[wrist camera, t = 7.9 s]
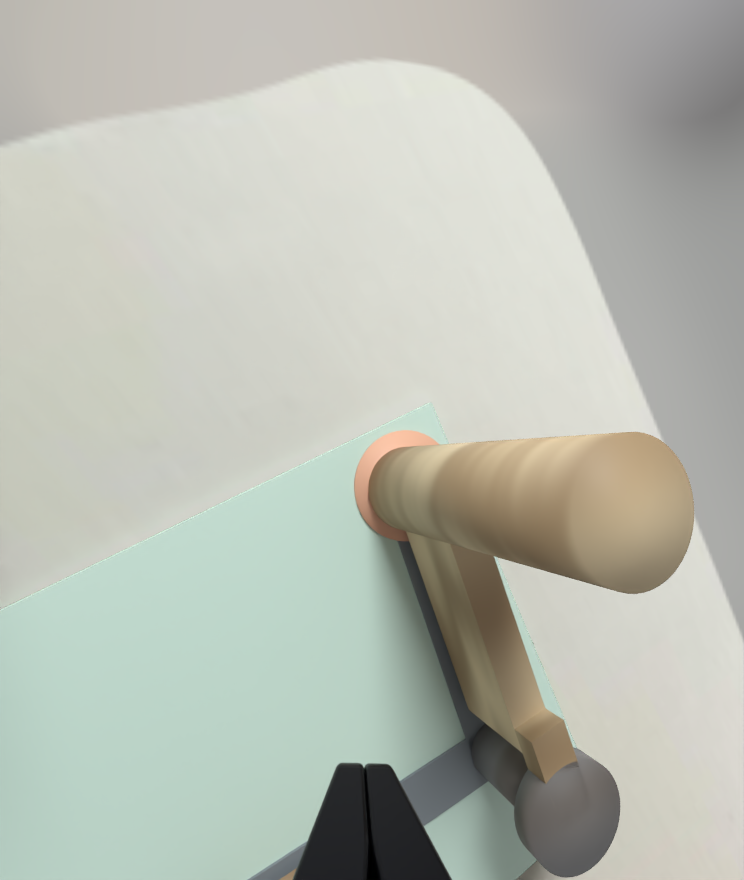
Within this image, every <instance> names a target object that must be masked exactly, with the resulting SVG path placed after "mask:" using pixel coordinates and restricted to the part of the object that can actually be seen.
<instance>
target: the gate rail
mask: <svg viewBox="0 0 744 880" xmlns="http://www.w3.org/2000/svg"><path fill="white" fill-rule="evenodd" d="M368 491H369V499H370V502H371V505H372V508H373V510H374V511H375V513H376V514H377V516H378V517H379V518H380V519H381V520H382V521H383V522H384V523H386V524H387V525H389V526H391V527H394V528H396V529H400V530H403V531H406V533H407V536H408V539H409V542H410V545H411V547H412V550H413V553H414V556H415V559H416V562H417V564H418V567H419V570H420V573H421V576H422V578H423V581H424V584H425V587H426V590H427V593H428V595H429V598H430V601H431V604H432V607H433V610H434V612H435V615H436V618H437V621H438V624H439V627H440V629H441V632H442V635H443V638H444V641H445V644H446V646H447V649H448V652H449V655H450V658H451V661H452V663H453V666H454V669H455V672H456V675H457V678H458V680H459V683H460V686H461V689H462V692H463V695H464V697H465V700H466V703H467V706H468V709H469V710H470V711H471V712H472V713H473V714H475V715H476V716H477V717H478V718H480V719H481V720H482V721H483V722H485V723H486V724H487V725H488V726H489V727H491V728H492V729H493V730H494V731H496V732H497V733H498V734H499V735H501V736H502V737H503V738H504V739H505V740H507V741H508V742H509V743H510V744H512V745H513V746H514V747H515V748H517V749H518V750H519V751H520V752H521V753H523V756H524V759H525V762H526V765H527V767H528V770H527V771H526V773H525V775H524V776H523V778H522V781H521V783H520V785H519V788H518V791H517V794H516V799H515V805H514V821H515V827H516V831H517V834H518V836H519V839H520V840H521V842H522V844H523V845H524V846H525V847H526V849H527V850H528V851H529V852H530V853H531V854H532V855H533V856H534V857H535V858H536V859H537V860H538V861H539V862H540V864H541V865H542V866H543V867H544V868H545V869H546V870H548V871H549V872H550V873H552V874H554V875H557V876H560V877H574V876H578V875H580V874H583V873H585V872H586V871H588V870H590V869H591V868H592V867H593V866H595V865H596V864H597V863H598V862H599V861H600V860H601V858H602V857H603V856H604V855H605V853H606V852H607V850H608V848H609V847H610V845H611V843H612V841H613V838H614V836H615V833H616V830H617V827H618V822H619V816H620V797H619V792H618V788H617V785H616V782H615V780H614V778H613V776H612V775H611V773H610V772H609V771H608V770H607V769H606V768H605V767H604V766H603V765H601V764H600V763H598V762H597V761H595V760H594V759H592V758H591V757H590V756H588V755H587V754H585V753H584V752H582V751H581V750H579V749H577V748H574V747H573V746H572V743H571V740H570V737H569V734H568V731H567V728H566V725H565V722H564V720H563V719H561V718H560V717H558V716H557V715H555V714H554V713H552V712H551V711H549V710H548V709H546V708H545V706H544V703H543V700H542V697H541V694H540V691H539V688H538V685H537V682H536V679H535V676H534V673H533V670H532V667H531V664H530V661H529V658H528V655H527V652H526V650H525V647H524V644H523V641H522V638H521V635H520V632H519V629H518V626H517V623H516V620H515V617H514V614H513V611H512V608H511V605H510V602H509V599H508V596H507V594H506V591H505V588H504V585H503V582H502V579H501V576H500V573H499V570H498V567H497V564H496V561H495V558H494V556H495V557H498V558H502V559H505V560H509V561H512V562H516V563H519V564H523V565H526V566H530V567H534V568H537V569H541V570H544V571H548V572H551V573H555V574H558V575H562V576H565V577H569V578H572V579H576V580H579V581H583V582H586V583H590V584H593V585H597V586H600V587H604V588H607V589H611V590H614V591H618V592H622V593H627V594H638V593H644V592H647V591H650V590H652V589H654V588H656V587H658V586H660V585H661V584H662V583H664V582H665V581H666V580H667V579H668V578H669V577H670V576H671V575H672V574H673V573H674V572H675V571H676V569H677V568H678V567H679V565H680V563H681V562H682V560H683V558H684V556H685V554H686V552H687V549H688V546H689V543H690V540H691V535H692V531H693V523H694V501H693V495H692V489H691V486H690V482H689V479H688V476H687V473H686V471H685V469H684V467H683V465H682V463H681V462H680V460H679V459H678V457H677V456H676V455H675V453H674V452H673V451H672V450H671V449H670V448H669V447H668V446H667V445H666V444H665V443H663V442H662V441H661V440H659V439H657V438H655V437H653V436H651V435H648V434H645V433H640V432H624V433H609V434H593V435H578V436H563V437H548V438H532V439H517V440H502V441H487V442H472V443H456V444H441V445H426V446H411V447H400V448H396V449H393V450H391V451H389V452H388V453H386V454H385V455H383V456H382V457H381V458H380V459H379V461H378V462H377V463H376V465H375V466H374V468H373V470H372V472H371V475H370V479H369V486H368Z"/></svg>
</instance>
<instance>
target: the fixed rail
mask: <svg viewBox="0 0 744 880" xmlns="http://www.w3.org/2000/svg"><path fill="white" fill-rule="evenodd" d="M472 760H473V764H474V766H475V768H476V769H477V770H478V771H479V772H480V773H481V774H482V775H483V776H484V777H485V778H486V779H487V780H488V781H489V782H490V783H491V784H492V785H493V786H494V787H495V788H496V789H497V790H498V791H499V792H500V793H501V794H502V795H503V796H504V797H505V798H506V799H507V800H508V801H509V802H510V803H511V804H512V805H513V806H514V805H515V799H516V794H517V791H518V788H519V785H520V783H521V781H522V778H523V776H524V775H525V773H526V771H527V770H528V767H527V765H526V762H525V759H524V756H523V753H521V752H520V751H519V750H518V749H517V748H515V747H514V746H513V745H512V744H510V743H509V742H508V741H507V740H505V739H504V738H503V737H502V736H501V735H499V734H498V733H497V732H496V731H494V730H493V729H492V728H491V727H489V726H488V725H487V724H484V725H483V726H482V727H481V728H480V730H479V731H478V732H477V734H476V736H475V738H474V741H473V744H472ZM296 869H297V868H296ZM296 869H294V870H293V871H291V872H290V873H288V874H287V875H285V876H284V877H282V878H281V879H279V880H292V879H293V877H294V874H295V872H296Z"/></svg>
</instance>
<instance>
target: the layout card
mask: <svg viewBox="0 0 744 880" xmlns="http://www.w3.org/2000/svg"><path fill="white" fill-rule="evenodd" d="M441 444H449V443H448V440H447V438H446V436H445V433H444V431H443V428H442V426H441V424H440V421H439V419H438V417H437V414H436V412H435V409H434V407H433V405H432V403H427V404H425V405H423V406H421V407H419V408H417V409H415V410H413V411H411V412H409V413H407V414H405V415H403V416H401V417H398V418H396V419H394V420H392V421H390V422H388V423H386V424H384V425H382V426H380V427H378V428H376V429H374V430H372V431H369V432H367V433H365V434H363V435H361V436H359V437H357V438H355V439H353V440H351V441H349V442H347V443H345V444H343V445H340V446H338V447H336V448H334V449H332V450H330V451H328V452H326V453H324V454H322V455H320V456H318V457H316V458H313V459H311V460H309V461H307V462H305V463H303V464H301V465H299V466H297V467H295V468H293V469H291V470H289V471H287V472H284V473H282V474H280V475H278V476H276V477H274V478H272V479H270V480H268V481H266V482H264V483H262V484H260V485H258V486H255V487H253V488H251V489H249V490H247V491H245V492H243V493H241V494H239V495H237V496H235V497H233V498H231V499H229V500H226V501H224V502H222V503H220V504H218V505H216V506H214V507H212V508H210V509H208V510H206V511H204V512H202V513H199V514H197V515H195V516H193V517H191V518H189V519H187V520H185V521H183V522H181V523H179V524H177V525H175V526H173V527H170V528H168V529H166V530H164V531H162V532H160V533H158V534H156V535H154V536H152V537H150V538H148V539H146V540H144V541H141V542H139V543H137V544H135V545H133V546H131V547H129V548H127V549H125V550H123V551H121V552H119V553H117V554H115V555H112V556H110V557H108V558H106V559H104V560H102V561H100V562H98V563H96V564H94V565H92V566H90V567H88V568H86V569H83V570H81V571H79V572H77V573H75V574H73V575H71V576H69V577H67V578H65V579H63V580H61V581H59V582H56V583H54V584H52V585H50V586H48V587H46V588H44V589H42V590H40V591H38V592H36V593H34V594H32V595H30V596H27V597H25V598H23V599H21V600H19V601H17V602H15V603H13V604H11V605H9V606H7V607H5V608H3V609H1V610H0V880H279V879H281V878H282V877H284V876H285V875H287V874H288V873H290V872H291V871H293V870H294V869H296V868H297V866H298V864H299V861H300V859H301V856H302V854H303V851H304V848H305V846H306V843H307V841H308V838H309V835H310V833H311V830H312V828H313V825H314V823H315V820H316V817H317V815H318V812H319V810H320V807H321V805H322V802H323V799H324V797H325V794H326V792H327V789H328V787H329V784H330V781H331V779H332V776H333V774H334V771H335V769H336V766H337V765H338V764H339V763H361V764H362V765H363V767H364V766H365V765H366V764H368V763H381V764H389V765H390V766H391V767H392V768H393V770H394V772H395V773H396V775H397V777H398V779H399V781H400V783H401V785H402V787H403V788H404V790H405V792H406V794H407V796H408V798H409V800H410V802H411V803H412V805H413V807H414V809H415V811H416V813H417V815H418V817H419V818H420V820H421V822H422V824H423V826H424V828H425V830H426V832H427V834H428V835H429V837H430V839H431V841H432V843H433V845H434V847H435V849H436V850H437V852H438V854H439V856H440V858H441V860H442V862H443V864H444V865H445V867H446V869H447V871H448V873H449V875H450V877H451V879H452V880H516V879H517V878H518V877H519V876H520V875H522V874H523V873H524V872H525V871H526V870H527V869H528V868H529V867H530V866H531V865H532V864H533V863H535V862H536V861H537V859H536V858H535V857H534V856H533V855H532V854H531V853H530V852H529V851H528V850H527V849H526V847H525V846H524V845H523V844H522V842H521V840H520V839H519V836H518V834H517V831H516V827H515V821H514V806H513V805H512V804H511V803H510V802H509V801H508V800H507V799H506V798H505V797H504V796H503V795H502V794H501V793H500V792H499V791H498V790H497V789H496V788H495V787H494V786H493V785H492V784H491V783H490V782H489V781H488V780H487V779H486V778H485V777H484V776H483V775H482V774H481V773H480V772H479V771H478V770H477V769H476V768H475V766H474V764H473V760H472V744H473V741H474V738H475V736H476V734H477V732H478V731H479V730H480V728H481V727H482V726H483V725H484V724H486V723H485V722H483V721H482V720H481V719H480V718H478V717H477V716H476V715H475V714H473V713H472V712H471V711H470V710H469V709H468V706H467V703H466V700H465V697H464V695H463V692H462V689H461V686H460V683H459V680H458V678H457V675H456V672H455V669H454V666H453V663H452V661H451V658H450V655H449V652H448V649H447V646H446V644H445V641H444V638H443V635H442V632H441V629H440V627H439V624H438V621H437V618H436V615H435V612H434V610H433V607H432V604H431V601H430V598H429V595H428V593H427V590H426V587H425V584H424V581H423V578H422V576H421V573H420V570H419V567H418V564H417V562H416V559H415V556H414V553H413V550H412V547H411V545H410V542H409V539H408V536H407V533H406V531H403V530H400V529H396V528H394V527H391V526H389V525H387V524H386V523H384V522H383V521H382V520H381V519H380V518H379V517H378V516H377V514H376V513H375V511H374V510H373V508H372V505H371V502H370V499H369V491H368V486H369V479H370V475H371V472H372V470H373V468H374V466H375V465H376V463H377V462H378V461H379V459H380V458H381V457H382V456H383V455H385V454H386V453H388V452H389V451H391V450H393V449H396V448H400V447H411V446H426V445H441ZM494 558H495V561H496V564H497V567H498V570H499V573H500V576H501V579H502V582H503V585H504V588H505V591H506V594H507V596H508V599H509V602H510V605H511V608H512V611H513V614H514V617H515V620H516V623H517V626H518V629H519V632H520V635H521V638H522V641H523V644H524V647H525V650H526V652H527V655H528V658H529V661H530V664H531V667H532V670H533V673H534V676H535V679H536V682H537V685H538V688H539V691H540V694H541V697H542V700H543V703H544V706H545V708H546V709H548V710H549V711H551V712H552V713H554V714H555V715H557V716H558V717H560V718H561V719H563V720H564V722H565V725H566V728H567V731H568V734H569V737H570V740H571V743H572V746H573V747H574V748H577V747H576V745H575V742H574V740H573V738H572V735H571V733H570V730H569V728H568V726H567V723H566V721H565V719H564V716H563V714H562V711H561V709H560V707H559V704H558V702H557V700H556V697H555V695H554V692H553V690H552V688H551V685H550V683H549V680H548V678H547V676H546V673H545V671H544V669H543V666H542V664H541V661H540V659H539V657H538V654H537V652H536V650H535V647H534V645H533V642H532V640H531V638H530V635H529V633H528V631H527V628H526V626H525V623H524V621H523V619H522V616H521V614H520V612H519V609H518V607H517V604H516V602H515V600H514V597H513V595H512V593H511V590H510V588H509V585H508V583H507V581H506V578H505V576H504V573H503V571H502V569H501V566H500V564H499V562H498V559H497V557H495V556H494Z"/></svg>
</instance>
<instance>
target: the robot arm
mask: <svg viewBox="0 0 744 880" xmlns="http://www.w3.org/2000/svg"><path fill="white" fill-rule="evenodd" d="M292 880H452V879H451V877H450V875H449V873H448V871H447V869H446V867H445V865H444V864H443V862H442V860H441V858H440V856H439V854H438V852H437V850H436V849H435V847H434V845H433V843H432V841H431V839H430V837H429V835H428V834H427V832H426V830H425V828H424V826H423V824H422V822H421V820H420V818H419V817H418V815H417V813H416V811H415V809H414V807H413V805H412V803H411V802H410V800H409V798H408V796H407V794H406V792H405V790H404V788H403V787H402V785H401V783H400V781H399V779H398V777H397V775H396V773H395V772H394V770H393V768H392V767H391V766H390V765H389V764H381V763H368V764H366V765H365V766H364V767H363V765H362V764H361V763H339V764H338V765H337V766H336V769H335V771H334V774H333V776H332V779H331V781H330V784H329V787H328V789H327V792H326V794H325V797H324V799H323V802H322V805H321V807H320V810H319V812H318V815H317V817H316V820H315V823H314V825H313V828H312V830H311V833H310V835H309V838H308V841H307V843H306V846H305V848H304V851H303V854H302V856H301V859H300V861H299V864H298V866H297V869H296V872H295V874H294V877H293V879H292Z"/></svg>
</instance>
